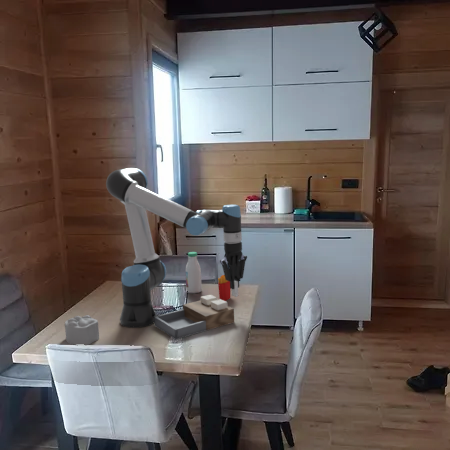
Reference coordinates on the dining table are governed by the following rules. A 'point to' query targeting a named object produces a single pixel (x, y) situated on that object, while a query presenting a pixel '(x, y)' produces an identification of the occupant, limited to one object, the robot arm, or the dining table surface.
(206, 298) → the back tile
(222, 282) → the french fries
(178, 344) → the dining table surface
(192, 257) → the milk bottle
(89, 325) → the knobbly-topped grey block
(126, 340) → the dining table surface
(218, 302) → the front tile
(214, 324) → the walnut platform
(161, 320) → the box
